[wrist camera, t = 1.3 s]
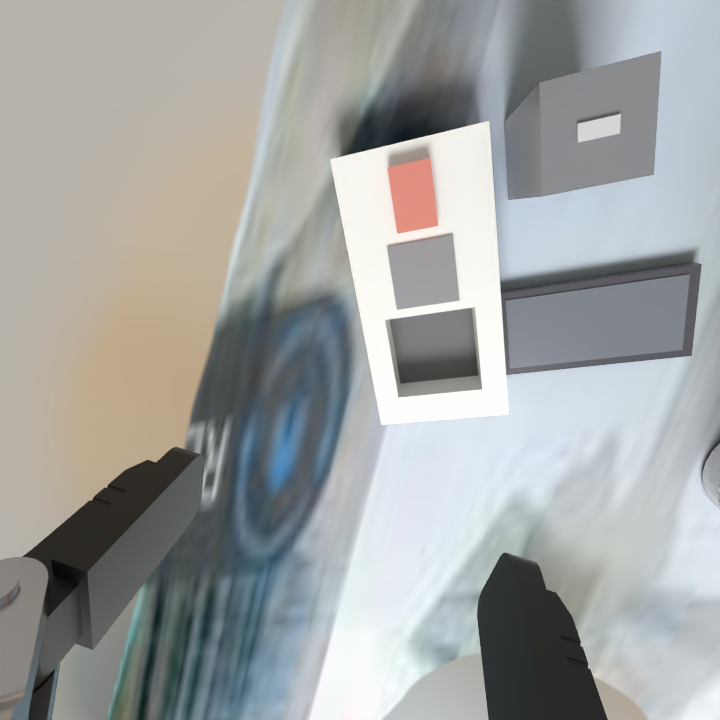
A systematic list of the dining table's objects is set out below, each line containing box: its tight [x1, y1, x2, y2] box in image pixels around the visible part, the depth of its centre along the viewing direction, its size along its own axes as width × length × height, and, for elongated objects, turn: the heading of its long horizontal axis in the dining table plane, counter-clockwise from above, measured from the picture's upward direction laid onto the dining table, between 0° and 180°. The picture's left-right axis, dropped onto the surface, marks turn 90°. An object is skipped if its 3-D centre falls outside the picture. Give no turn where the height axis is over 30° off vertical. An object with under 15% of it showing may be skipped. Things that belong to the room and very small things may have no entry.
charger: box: [504, 51, 661, 200], centre depth 20 cm, size 4×4×8 cm
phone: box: [501, 263, 701, 375], centre depth 26 cm, size 12×6×1 cm, turn 101°
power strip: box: [330, 121, 509, 425], centre depth 26 cm, size 9×18×4 cm, turn 11°
